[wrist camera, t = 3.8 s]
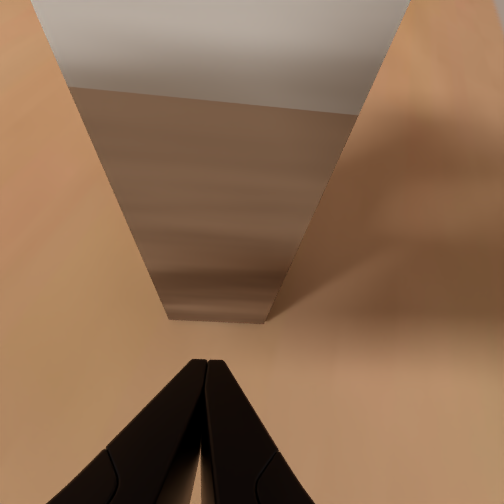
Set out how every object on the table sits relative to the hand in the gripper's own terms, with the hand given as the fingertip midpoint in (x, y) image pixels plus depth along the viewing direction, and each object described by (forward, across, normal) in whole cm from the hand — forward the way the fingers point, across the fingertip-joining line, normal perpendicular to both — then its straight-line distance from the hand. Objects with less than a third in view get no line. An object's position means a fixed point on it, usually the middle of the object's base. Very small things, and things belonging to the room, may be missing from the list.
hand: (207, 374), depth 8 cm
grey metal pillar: (+10, 0, +1) cm, 10 cm away
